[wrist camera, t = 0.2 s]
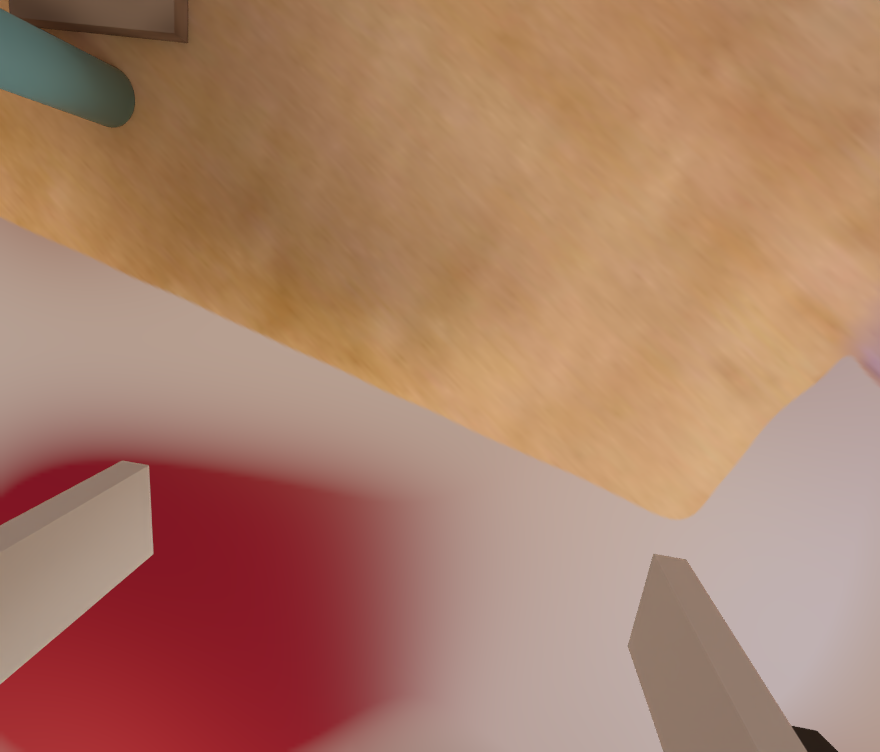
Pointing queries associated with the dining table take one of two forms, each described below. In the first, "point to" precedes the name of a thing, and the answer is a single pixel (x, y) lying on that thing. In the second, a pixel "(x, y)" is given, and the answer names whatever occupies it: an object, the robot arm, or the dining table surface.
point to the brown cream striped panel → (109, 17)
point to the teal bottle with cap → (61, 74)
